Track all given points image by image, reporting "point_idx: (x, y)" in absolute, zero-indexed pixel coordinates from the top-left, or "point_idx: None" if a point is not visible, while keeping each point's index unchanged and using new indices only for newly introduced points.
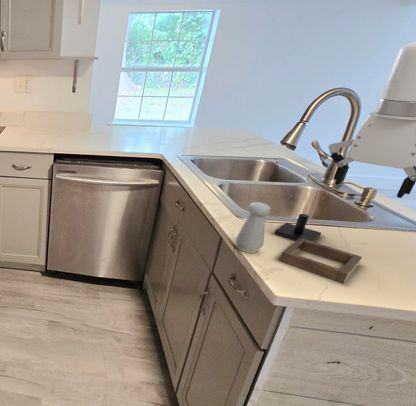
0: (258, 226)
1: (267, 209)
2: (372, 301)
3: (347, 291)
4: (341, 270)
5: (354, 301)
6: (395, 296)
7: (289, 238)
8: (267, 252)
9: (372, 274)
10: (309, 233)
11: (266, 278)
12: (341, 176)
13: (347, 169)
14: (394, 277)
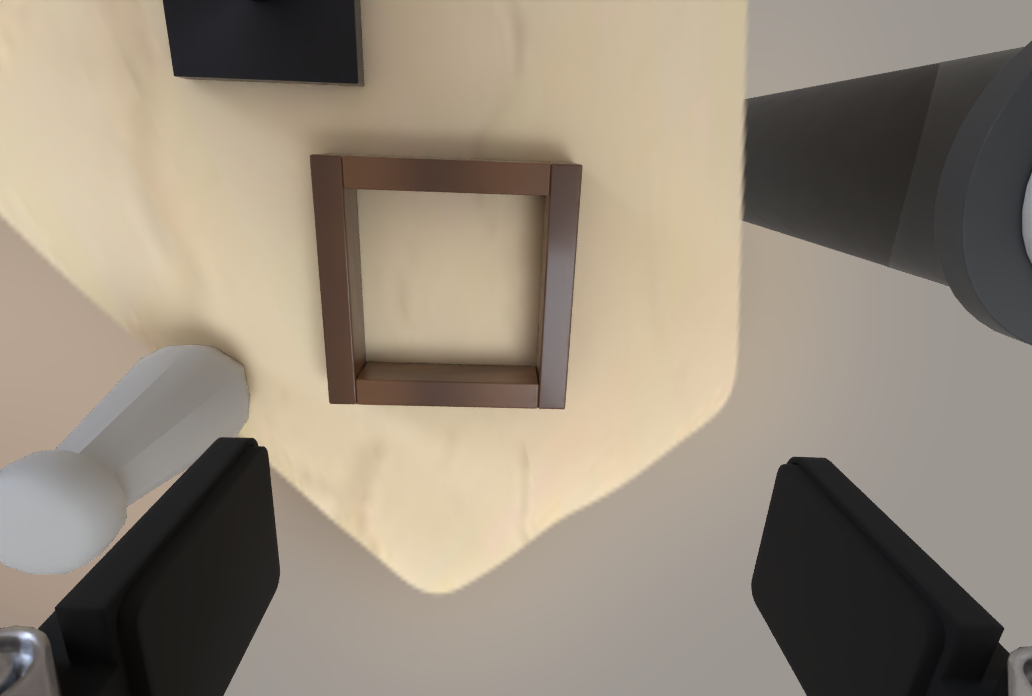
0: (160, 483)
1: (97, 549)
2: (648, 443)
3: (580, 436)
4: (542, 395)
5: (606, 485)
6: (703, 347)
7: (264, 81)
8: (278, 342)
9: (629, 211)
10: None
11: (373, 549)
12: (229, 672)
13: (172, 614)
14: (698, 167)
